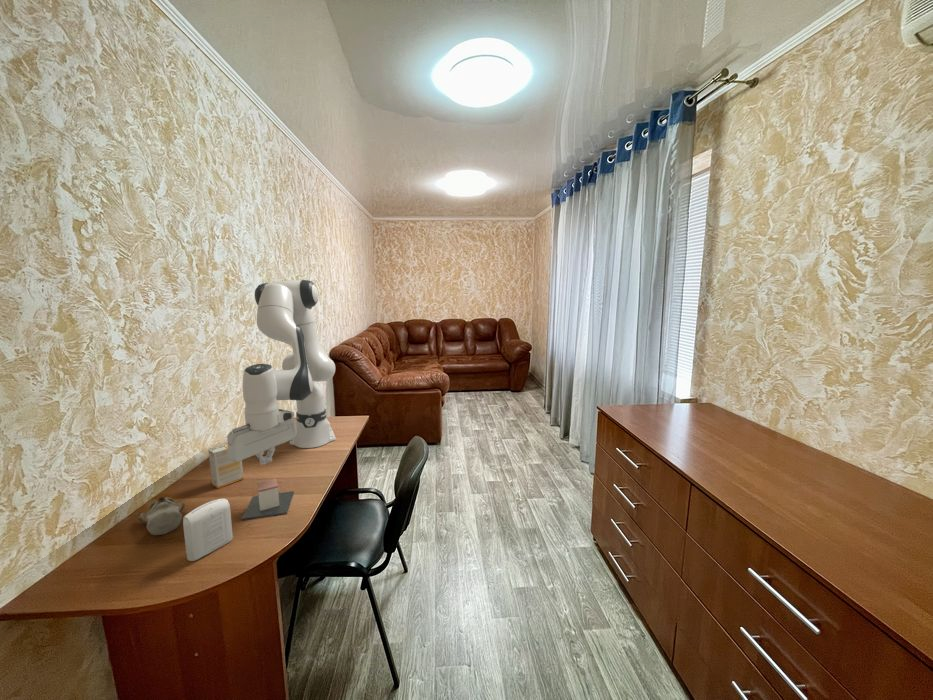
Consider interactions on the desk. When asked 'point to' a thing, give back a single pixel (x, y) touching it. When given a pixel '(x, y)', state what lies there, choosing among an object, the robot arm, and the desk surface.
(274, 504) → the pink and white block
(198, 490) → the desk surface
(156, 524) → the ceramic sculpture
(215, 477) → the supplement box
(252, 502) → the grey square base plate
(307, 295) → the robot arm
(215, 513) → the photo printer
